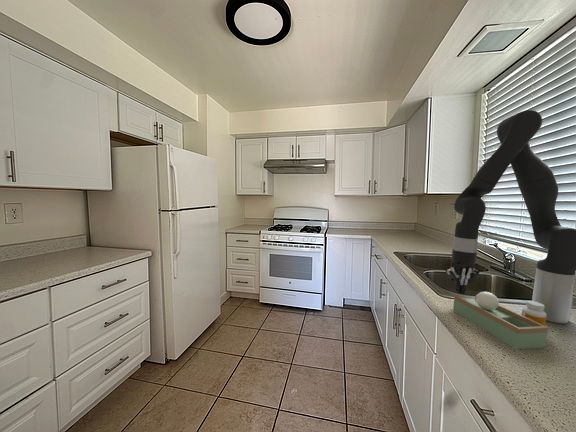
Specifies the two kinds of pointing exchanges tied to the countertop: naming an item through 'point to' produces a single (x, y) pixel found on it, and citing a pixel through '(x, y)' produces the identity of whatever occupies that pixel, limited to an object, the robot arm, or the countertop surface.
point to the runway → (503, 324)
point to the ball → (487, 300)
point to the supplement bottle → (534, 312)
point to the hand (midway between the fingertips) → (460, 293)
